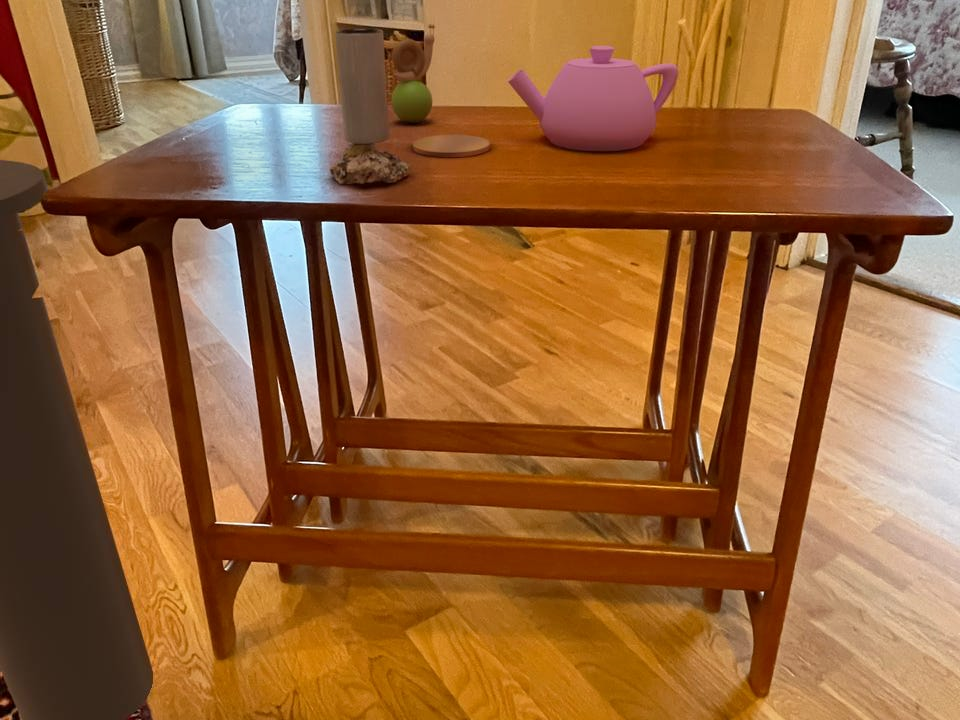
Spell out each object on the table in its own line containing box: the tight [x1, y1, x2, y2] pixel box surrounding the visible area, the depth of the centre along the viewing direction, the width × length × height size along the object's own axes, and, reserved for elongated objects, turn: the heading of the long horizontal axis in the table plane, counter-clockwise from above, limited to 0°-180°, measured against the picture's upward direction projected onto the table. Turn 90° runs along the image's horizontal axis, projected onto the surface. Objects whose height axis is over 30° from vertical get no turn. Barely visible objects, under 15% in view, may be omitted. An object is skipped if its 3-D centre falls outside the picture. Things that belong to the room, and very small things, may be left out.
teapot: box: [507, 45, 680, 152], centre depth 93 cm, size 14×20×11 cm
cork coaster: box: [412, 134, 491, 158], centre depth 92 cm, size 9×9×1 cm
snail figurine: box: [390, 23, 436, 124], centre depth 102 cm, size 5×6×12 cm
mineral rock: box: [328, 143, 411, 185], centre depth 81 cm, size 11×4×8 cm
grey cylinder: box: [335, 27, 390, 144], centre depth 78 cm, size 4×4×10 cm
